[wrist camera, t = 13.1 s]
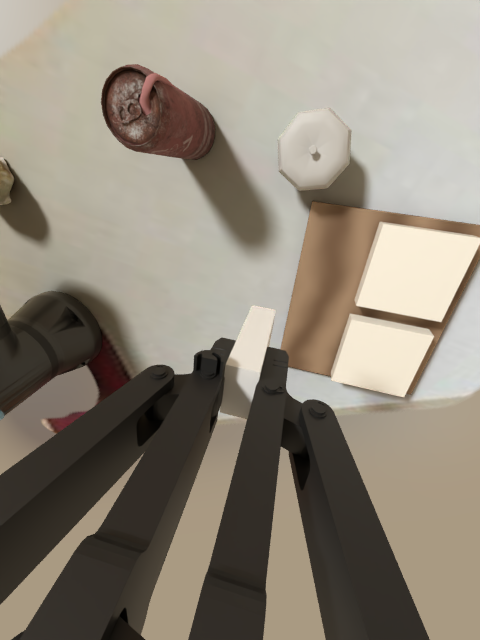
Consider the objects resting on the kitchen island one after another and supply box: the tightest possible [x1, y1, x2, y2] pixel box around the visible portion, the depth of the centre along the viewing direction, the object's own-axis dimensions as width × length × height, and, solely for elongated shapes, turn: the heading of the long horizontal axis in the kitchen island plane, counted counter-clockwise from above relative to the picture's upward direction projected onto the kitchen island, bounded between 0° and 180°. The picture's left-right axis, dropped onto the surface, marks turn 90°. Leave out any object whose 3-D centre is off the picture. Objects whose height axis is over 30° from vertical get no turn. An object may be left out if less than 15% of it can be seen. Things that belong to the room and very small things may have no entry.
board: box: [280, 201, 480, 395], centre depth 40 cm, size 20×24×2 cm
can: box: [101, 64, 215, 160], centre depth 30 cm, size 6×6×14 cm
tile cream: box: [355, 222, 480, 322], centre depth 35 cm, size 2×10×10 cm
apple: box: [278, 108, 351, 191], centre depth 31 cm, size 8×8×7 cm
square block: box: [331, 314, 434, 397], centre depth 40 cm, size 2×10×10 cm
